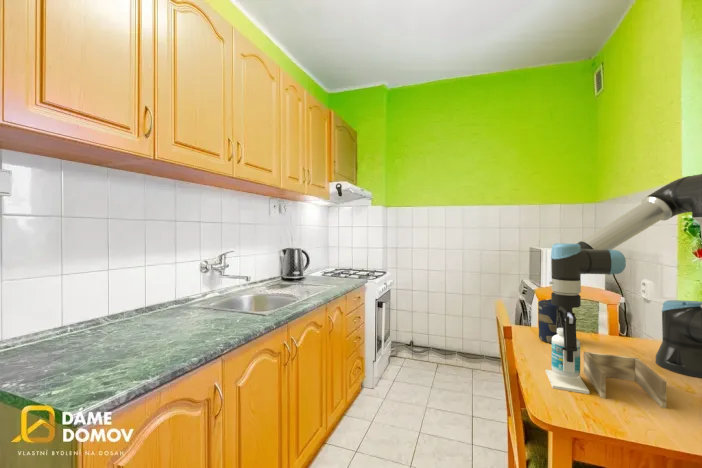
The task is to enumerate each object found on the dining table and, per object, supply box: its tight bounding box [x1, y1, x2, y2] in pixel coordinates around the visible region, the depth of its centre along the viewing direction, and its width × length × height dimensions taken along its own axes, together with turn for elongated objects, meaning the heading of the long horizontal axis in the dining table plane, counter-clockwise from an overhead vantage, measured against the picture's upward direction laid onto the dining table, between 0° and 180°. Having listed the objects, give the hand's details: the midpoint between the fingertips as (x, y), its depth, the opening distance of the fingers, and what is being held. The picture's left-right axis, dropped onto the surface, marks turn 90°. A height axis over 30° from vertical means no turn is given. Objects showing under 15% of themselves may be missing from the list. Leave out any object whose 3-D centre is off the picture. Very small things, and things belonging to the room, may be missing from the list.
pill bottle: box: [550, 328, 581, 377], centre depth 98 cm, size 8×7×14 cm
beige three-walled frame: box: [583, 351, 667, 409], centre depth 93 cm, size 14×17×7 cm
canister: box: [537, 298, 559, 344], centre depth 134 cm, size 10×10×18 cm
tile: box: [545, 369, 590, 395], centre depth 98 cm, size 9×12×1 cm
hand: (565, 366), depth 98 cm, fingers closed on pill bottle, 7 cm apart
